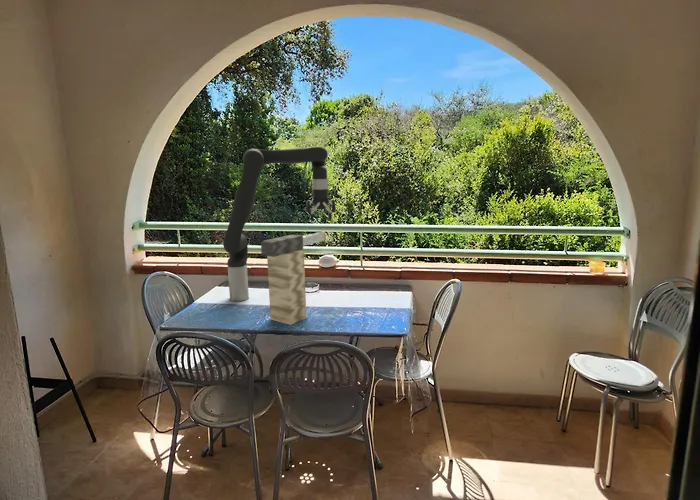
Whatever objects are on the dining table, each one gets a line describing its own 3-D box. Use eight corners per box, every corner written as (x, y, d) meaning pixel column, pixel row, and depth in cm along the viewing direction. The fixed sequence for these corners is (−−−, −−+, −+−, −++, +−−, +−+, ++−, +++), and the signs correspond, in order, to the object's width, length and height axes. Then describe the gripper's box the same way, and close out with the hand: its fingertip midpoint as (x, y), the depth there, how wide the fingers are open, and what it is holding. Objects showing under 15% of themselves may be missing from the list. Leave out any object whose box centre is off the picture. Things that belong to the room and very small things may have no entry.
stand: (280, 329, 186) (276, 243, 179) (260, 323, 193) (255, 240, 186) (310, 316, 201) (308, 236, 194) (291, 311, 208) (287, 233, 201)
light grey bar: (289, 249, 192) (289, 240, 191) (283, 248, 194) (283, 239, 193) (325, 240, 211) (325, 232, 210) (319, 239, 213) (319, 232, 212)
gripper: (307, 189, 217) (308, 222, 220) (336, 188, 220) (336, 221, 224) (304, 188, 224) (305, 220, 227) (332, 187, 228) (333, 219, 231)
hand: (321, 221), depth 225 cm, fingers open, 8 cm apart
